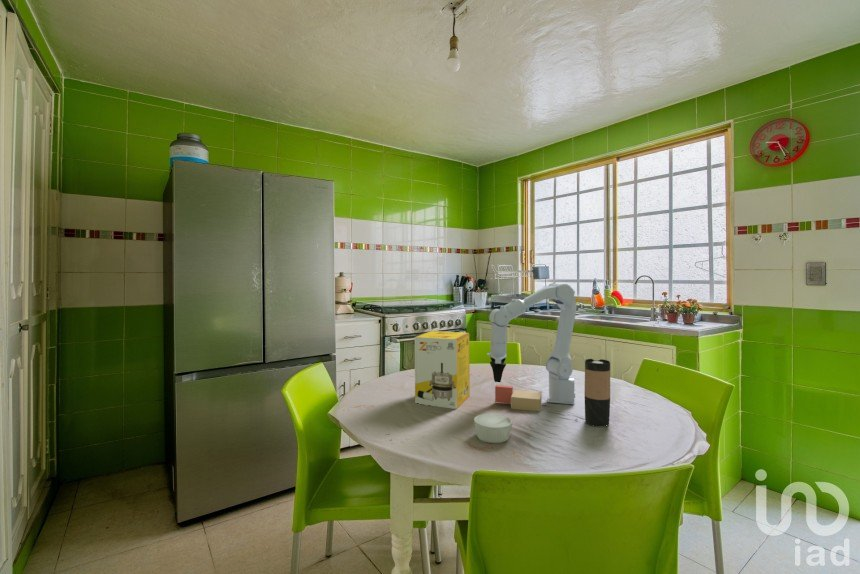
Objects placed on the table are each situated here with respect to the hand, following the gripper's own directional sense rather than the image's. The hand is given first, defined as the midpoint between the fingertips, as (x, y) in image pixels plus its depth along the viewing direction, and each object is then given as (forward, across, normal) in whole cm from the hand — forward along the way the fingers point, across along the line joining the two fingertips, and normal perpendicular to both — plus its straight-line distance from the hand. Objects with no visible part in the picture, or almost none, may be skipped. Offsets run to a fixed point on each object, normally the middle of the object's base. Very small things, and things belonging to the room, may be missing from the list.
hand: (497, 379), depth 147 cm
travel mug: (+9, +13, +32) cm, 35 cm away
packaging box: (+10, -4, -20) cm, 23 cm away
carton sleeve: (+9, -1, +11) cm, 14 cm away
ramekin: (+10, +29, -1) cm, 31 cm away
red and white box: (+9, -1, +7) cm, 11 cm away
